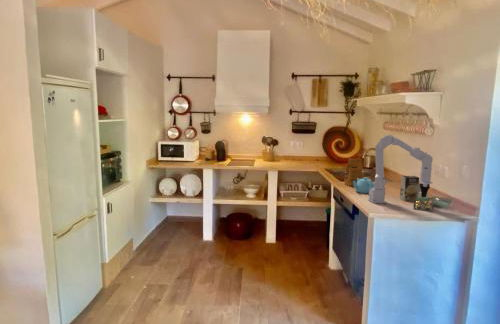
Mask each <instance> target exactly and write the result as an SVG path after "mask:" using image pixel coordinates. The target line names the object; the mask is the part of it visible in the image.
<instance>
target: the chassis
mask: <svg viewBox="0 0 500 324" xmlns="http://www.w3.org/2000/svg"><path fill="white" fill-rule="evenodd" d="M432 207H433V206H432V204H431V201H426V202H425V201H424V203H422V201H420V200H417V201H415V202H414V203H413V208H412V209H413V210H417V211H425V212H433V208H432Z"/></svg>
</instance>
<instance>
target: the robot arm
mask: <svg viewBox="0 0 500 324" xmlns="http://www.w3.org/2000/svg"><path fill="white" fill-rule="evenodd" d="M388 146H398V147H400V148H402V149H404V150H405V151H407V152H408V153H409V155H410V156H411V157H413V158H415V160H418V161H421V166H420V175H419V184H420V188H421V195H422V197H426V195H427V193H429V189H430V188H431V186H430V184H433V181H431V179H432V178H431V177H432V169H433V168H432V167H433V166H432V165H433V161H434V160H433V159H434V158H433V157H432V156H431V154H429V153H427V152H425V151H423V150H421V148H420V147H416V146H415V147H412V146H411V145H410V144H408V143H407V142H405V141H403V140H401V139H400V138H398V137H396V136H393V134H387V135H384V136H382V137H381V138H380V140H379V141H378V142H377V144H376V145H375V153H374V154H375V176H374V181H373V183H374V188H372V189H370V190H369V194H368V199H367V201H369V202H371V203H372V204H387V203H388V202H387V201H385V198H386V187H385V186H386V184H387V181H386V178H385V171H384V170H385V165H384V161H385V160H384V159H385V157H384V155H385V154H384V150H385V149H386V148H388Z"/></svg>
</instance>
